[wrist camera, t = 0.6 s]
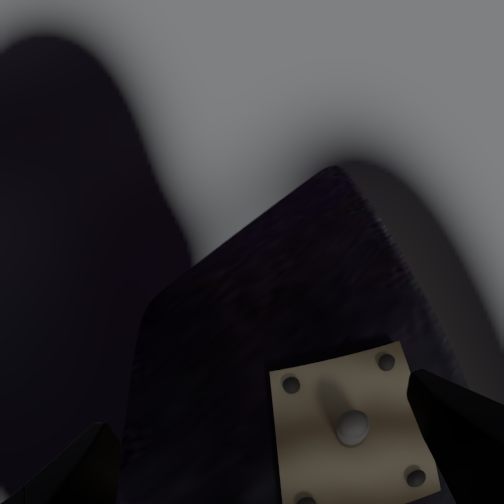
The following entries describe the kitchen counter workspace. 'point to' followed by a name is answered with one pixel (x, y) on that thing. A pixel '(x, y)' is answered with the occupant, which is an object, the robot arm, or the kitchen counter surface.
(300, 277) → the kitchen counter surface
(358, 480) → the beige mounting plate
